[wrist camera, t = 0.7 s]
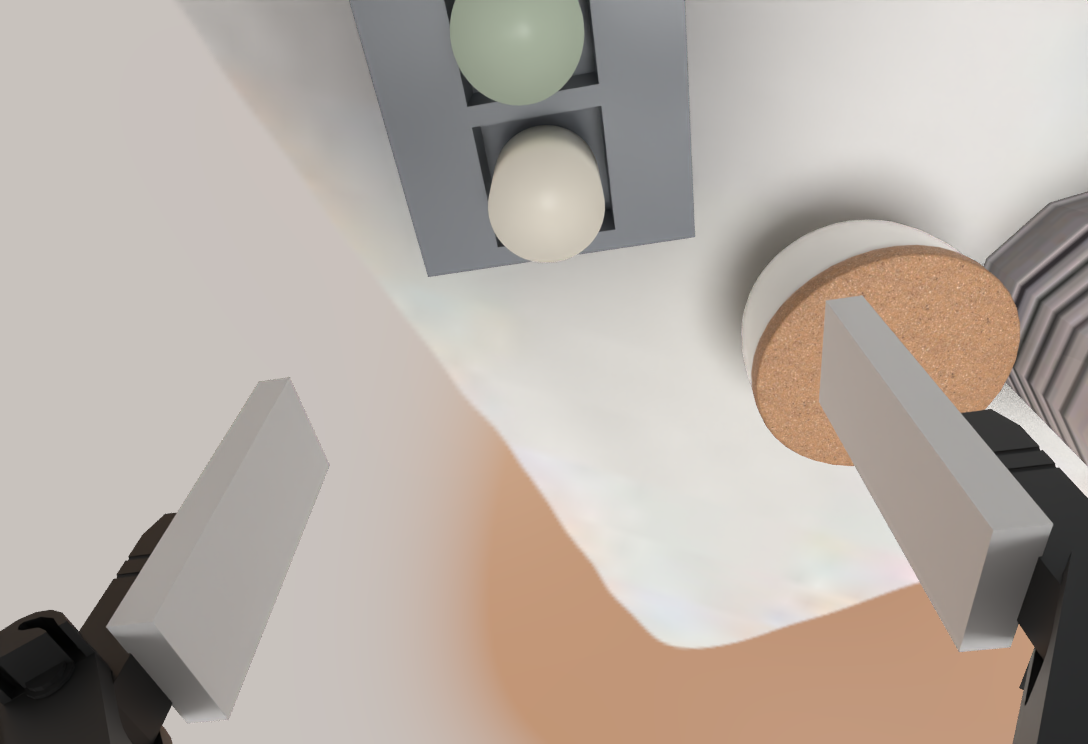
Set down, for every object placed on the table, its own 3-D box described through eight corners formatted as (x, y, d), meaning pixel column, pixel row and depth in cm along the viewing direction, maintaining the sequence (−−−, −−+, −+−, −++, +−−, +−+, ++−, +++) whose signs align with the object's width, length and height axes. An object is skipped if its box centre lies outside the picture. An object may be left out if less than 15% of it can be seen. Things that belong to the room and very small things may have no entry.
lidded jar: (873, 388, 38) (956, 508, 31) (691, 358, 37) (729, 474, 30) (974, 208, 33) (1109, 301, 25) (762, 166, 31) (833, 249, 24)
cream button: (484, 134, 27) (476, 160, 25) (592, 116, 27) (597, 141, 24) (505, 235, 30) (500, 270, 27) (604, 220, 29) (610, 254, 27)
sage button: (448, -36, 24) (435, -30, 21) (571, -60, 24) (574, -56, 21) (475, 93, 27) (466, 115, 24) (587, 73, 26) (591, 93, 23)
